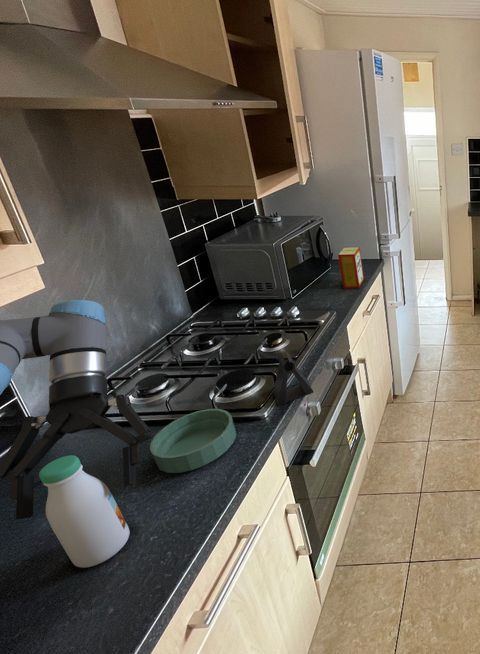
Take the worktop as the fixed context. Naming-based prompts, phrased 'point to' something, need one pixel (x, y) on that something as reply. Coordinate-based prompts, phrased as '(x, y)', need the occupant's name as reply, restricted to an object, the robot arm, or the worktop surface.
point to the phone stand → (280, 389)
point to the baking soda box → (351, 267)
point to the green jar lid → (193, 440)
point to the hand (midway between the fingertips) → (79, 500)
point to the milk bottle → (82, 513)
